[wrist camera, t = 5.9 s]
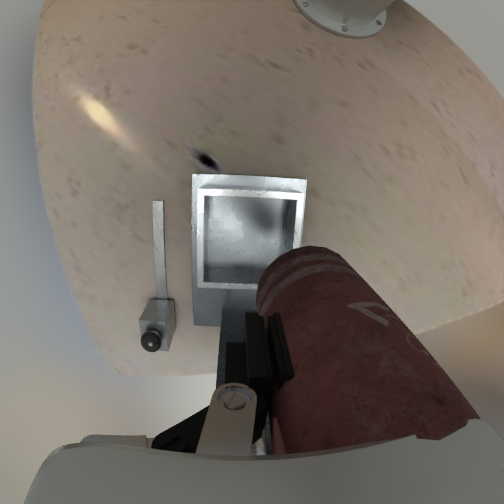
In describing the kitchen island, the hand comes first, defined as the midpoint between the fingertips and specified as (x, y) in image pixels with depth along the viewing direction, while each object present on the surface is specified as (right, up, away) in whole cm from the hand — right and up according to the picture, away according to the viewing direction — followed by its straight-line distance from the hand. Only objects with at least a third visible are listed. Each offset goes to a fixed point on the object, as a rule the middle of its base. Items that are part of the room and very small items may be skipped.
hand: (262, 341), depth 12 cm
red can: (+3, +1, +6) cm, 6 cm away
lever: (-12, -4, +22) cm, 26 cm away
